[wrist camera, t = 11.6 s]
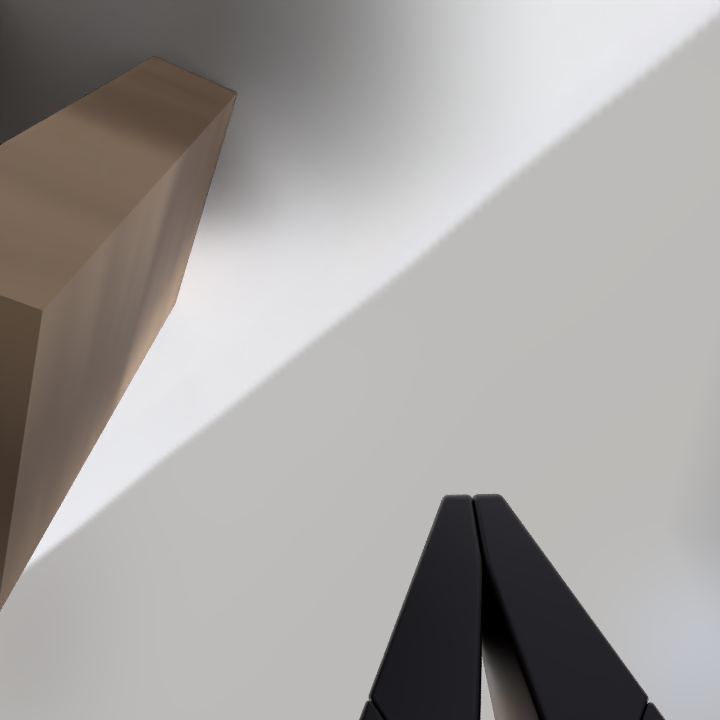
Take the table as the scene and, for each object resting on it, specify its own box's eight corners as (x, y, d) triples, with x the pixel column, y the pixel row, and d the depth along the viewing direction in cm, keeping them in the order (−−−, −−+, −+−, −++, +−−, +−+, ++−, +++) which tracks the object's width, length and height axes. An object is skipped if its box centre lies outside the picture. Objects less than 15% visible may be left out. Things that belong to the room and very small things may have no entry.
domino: (153, 56, 12) (-161, 238, 5) (237, 93, 12) (41, 310, 5) (106, 277, 14) (-138, 582, 8) (175, 303, 15) (-3, 616, 8)
